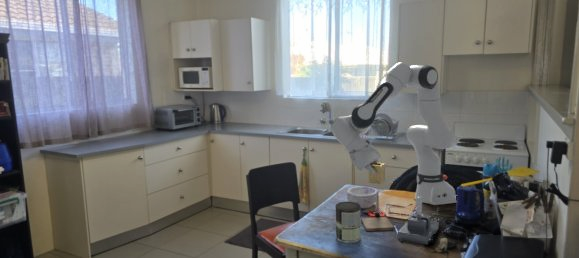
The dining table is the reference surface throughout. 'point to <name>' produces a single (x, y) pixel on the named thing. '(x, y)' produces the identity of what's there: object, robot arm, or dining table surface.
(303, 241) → the dining table surface
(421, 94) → the robot arm
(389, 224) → the walnut board
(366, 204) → the white bowl
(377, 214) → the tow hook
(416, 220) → the vise
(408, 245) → the dining table surface
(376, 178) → the pale yellow block
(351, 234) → the coffee can
